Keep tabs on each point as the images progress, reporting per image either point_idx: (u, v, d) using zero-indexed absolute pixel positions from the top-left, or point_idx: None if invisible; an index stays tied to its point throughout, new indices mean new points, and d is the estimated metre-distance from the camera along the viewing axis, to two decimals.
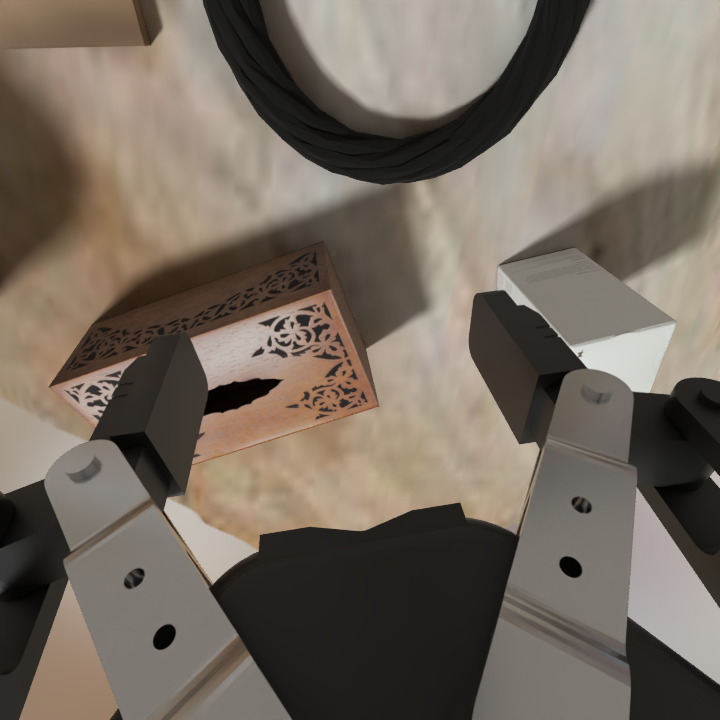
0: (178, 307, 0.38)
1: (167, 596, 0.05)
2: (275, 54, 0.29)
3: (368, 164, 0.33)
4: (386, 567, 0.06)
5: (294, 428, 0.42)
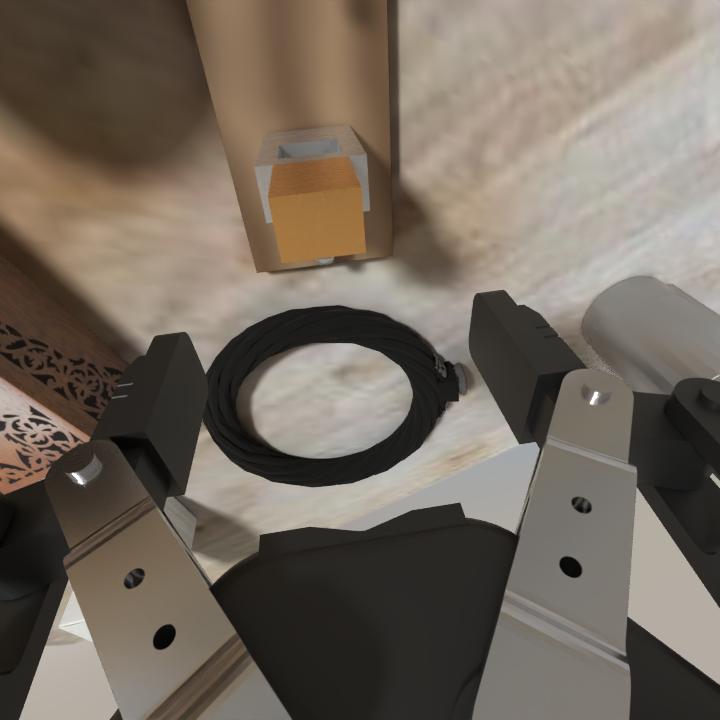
0: None
1: (167, 596, 0.05)
2: (271, 355, 0.40)
3: (215, 419, 0.43)
4: (386, 567, 0.06)
5: None
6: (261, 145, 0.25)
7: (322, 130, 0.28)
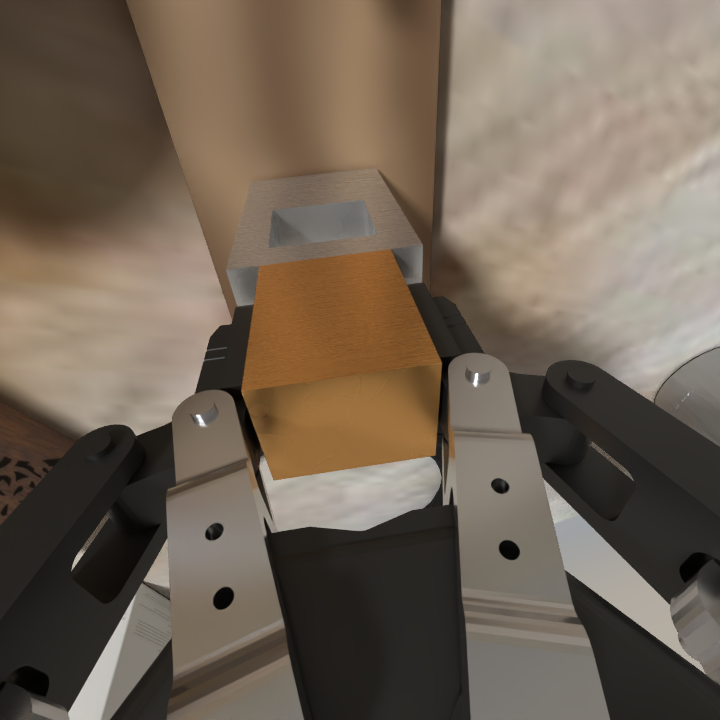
0: None
1: (235, 561, 0.05)
2: None
3: None
4: (386, 567, 0.06)
5: None
6: (244, 209, 0.16)
7: (337, 179, 0.18)
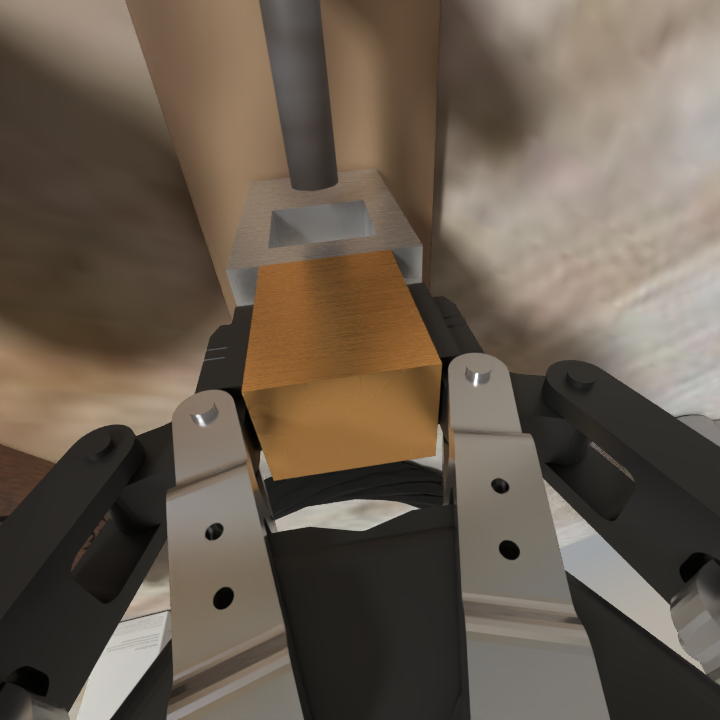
0: None
1: (235, 560, 0.05)
2: None
3: None
4: (386, 567, 0.06)
5: None
6: (244, 209, 0.16)
7: None
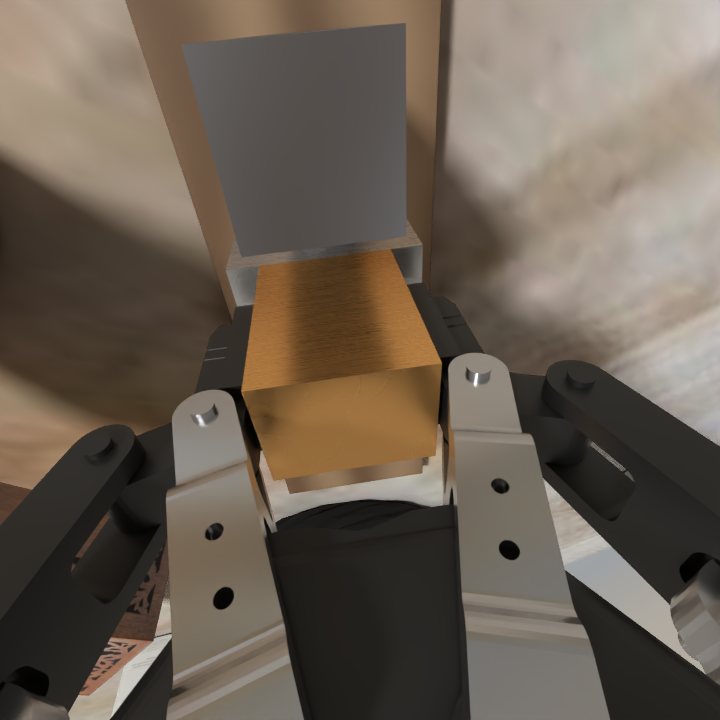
0: None
1: (235, 560, 0.05)
2: None
3: None
4: (386, 567, 0.06)
5: None
6: None
7: None
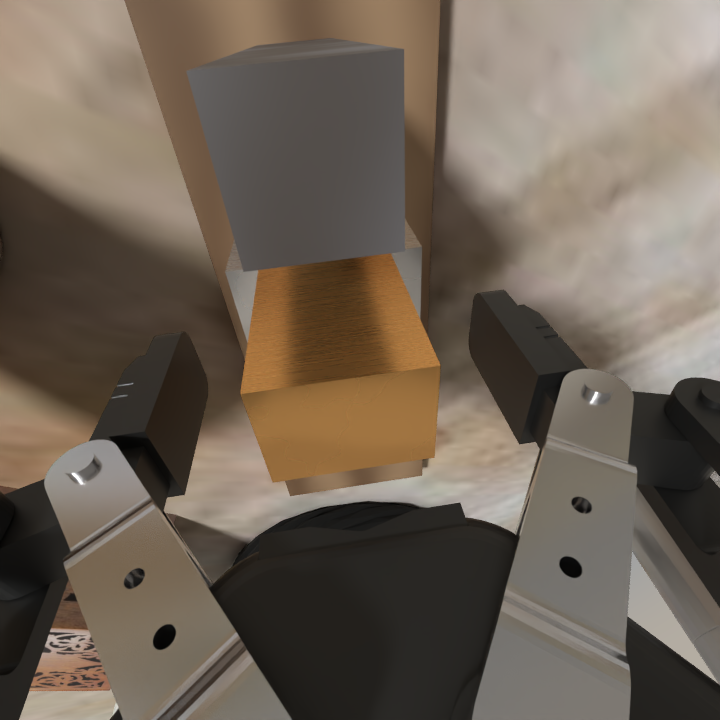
0: None
1: (167, 596, 0.05)
2: None
3: None
4: (386, 567, 0.06)
5: None
6: None
7: None
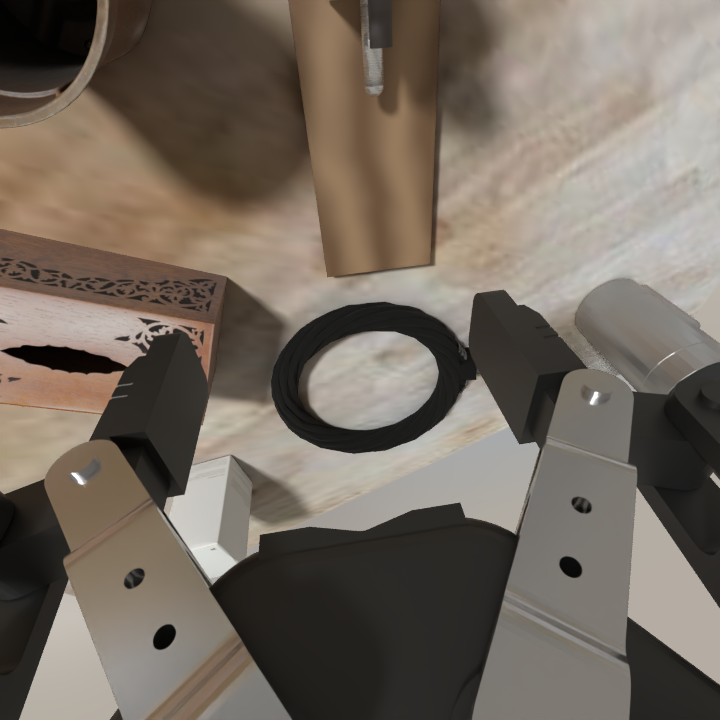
0: (63, 259, 0.39)
1: (167, 596, 0.05)
2: (331, 341, 0.51)
3: (284, 392, 0.54)
4: (386, 567, 0.06)
5: None
6: None
7: None
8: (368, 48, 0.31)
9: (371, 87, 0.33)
